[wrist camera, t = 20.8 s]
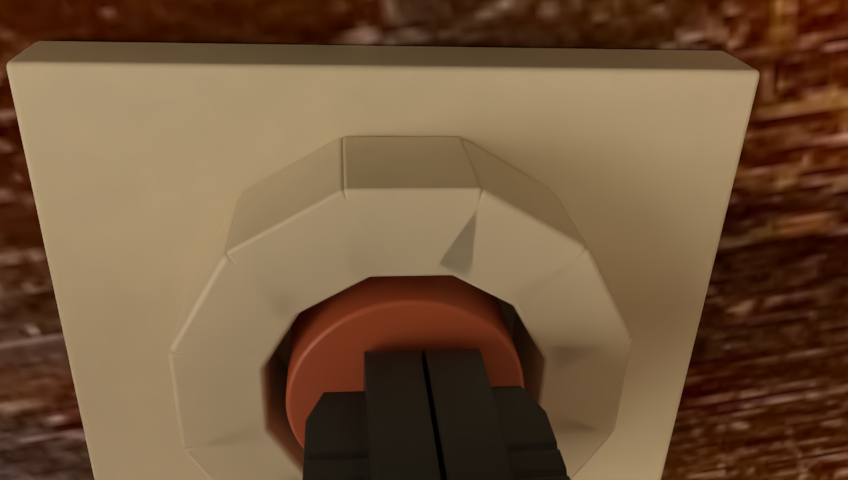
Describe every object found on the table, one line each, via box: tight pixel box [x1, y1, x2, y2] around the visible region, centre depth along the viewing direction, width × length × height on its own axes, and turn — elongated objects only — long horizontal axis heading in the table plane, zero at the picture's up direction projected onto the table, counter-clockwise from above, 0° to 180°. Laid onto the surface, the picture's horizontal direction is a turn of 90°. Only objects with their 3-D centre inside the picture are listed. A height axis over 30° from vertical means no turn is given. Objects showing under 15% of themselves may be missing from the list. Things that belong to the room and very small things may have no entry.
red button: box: [286, 275, 524, 449], centre depth 11 cm, size 3×3×2 cm
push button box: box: [7, 41, 759, 480], centre depth 12 cm, size 10×8×3 cm
